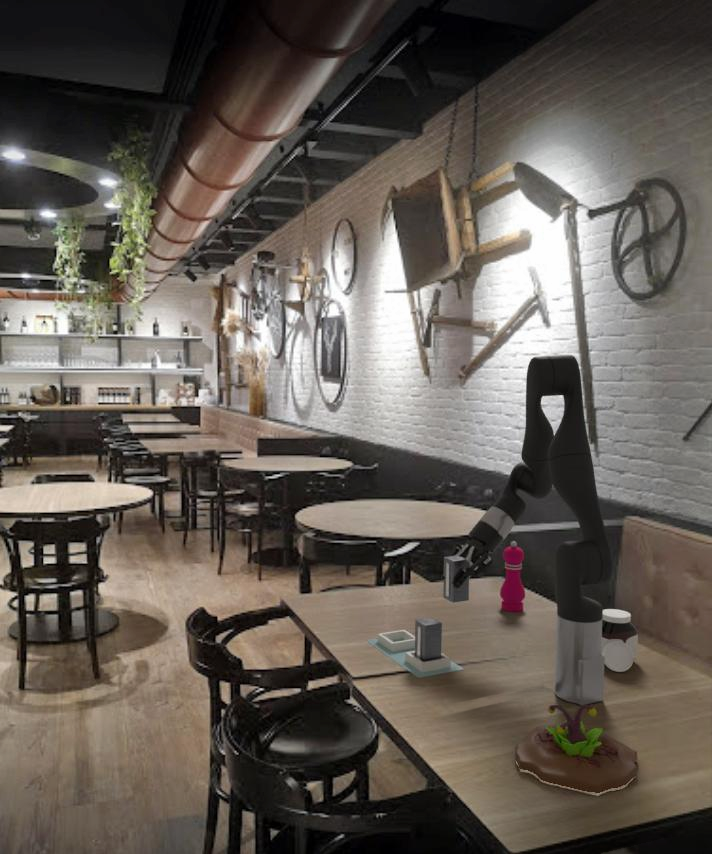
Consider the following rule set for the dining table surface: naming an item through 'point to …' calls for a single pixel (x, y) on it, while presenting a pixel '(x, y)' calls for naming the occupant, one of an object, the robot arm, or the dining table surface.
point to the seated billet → (428, 639)
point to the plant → (576, 755)
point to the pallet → (411, 654)
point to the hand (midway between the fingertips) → (449, 583)
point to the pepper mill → (512, 579)
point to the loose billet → (450, 572)
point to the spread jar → (618, 640)
